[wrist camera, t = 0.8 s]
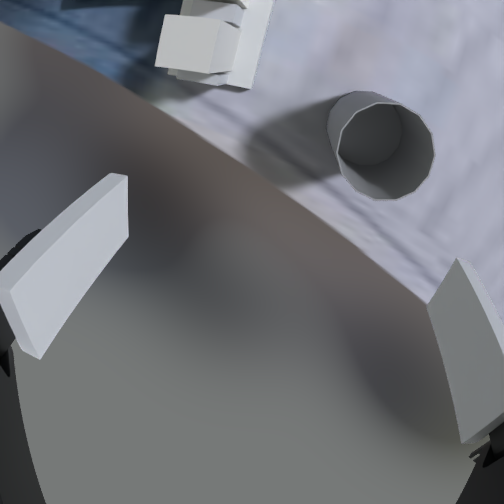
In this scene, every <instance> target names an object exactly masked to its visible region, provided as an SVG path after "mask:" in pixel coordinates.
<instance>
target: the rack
mask: <svg viewBox="0 0 504 504" xmlns="http://www.w3.org/2000/svg"><path fill="white" fill-rule="evenodd" d="M275 1H276V0H249V4H248V8H243V7H239V6H238V5H237V4H230V3H222V2H214V1H204V0H183V3H182V8H181V12H180V15H182V16H194V17H203V18H211V19H219V20H222V21H224V22H226V23H228V24H230V25H232V26H233V27H235V28H237V29H239V30H241V35H240V39H239V43H238V47H237V51H236V55H235V60H234V64H233V68H232V71H226V72H218V73H210V74H207V73H201V72H194V71H188V70H181V69H173V68H169V69H168V75H175V76H177V78H176V79H179V80H186V81H192V82H198V83H204V84H210V85H215V86H219V85H223V84H228V85H233V86H238V87H243V88H248V89H252V88H253V86H254V82H255V78H256V74H257V70H258V66H259V62H260V58H261V54H262V50H263V46H264V42H265V38H266V34H267V31H268V27H269V23H270V19H271V15H272V12H273V8H274V4H275Z"/></svg>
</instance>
